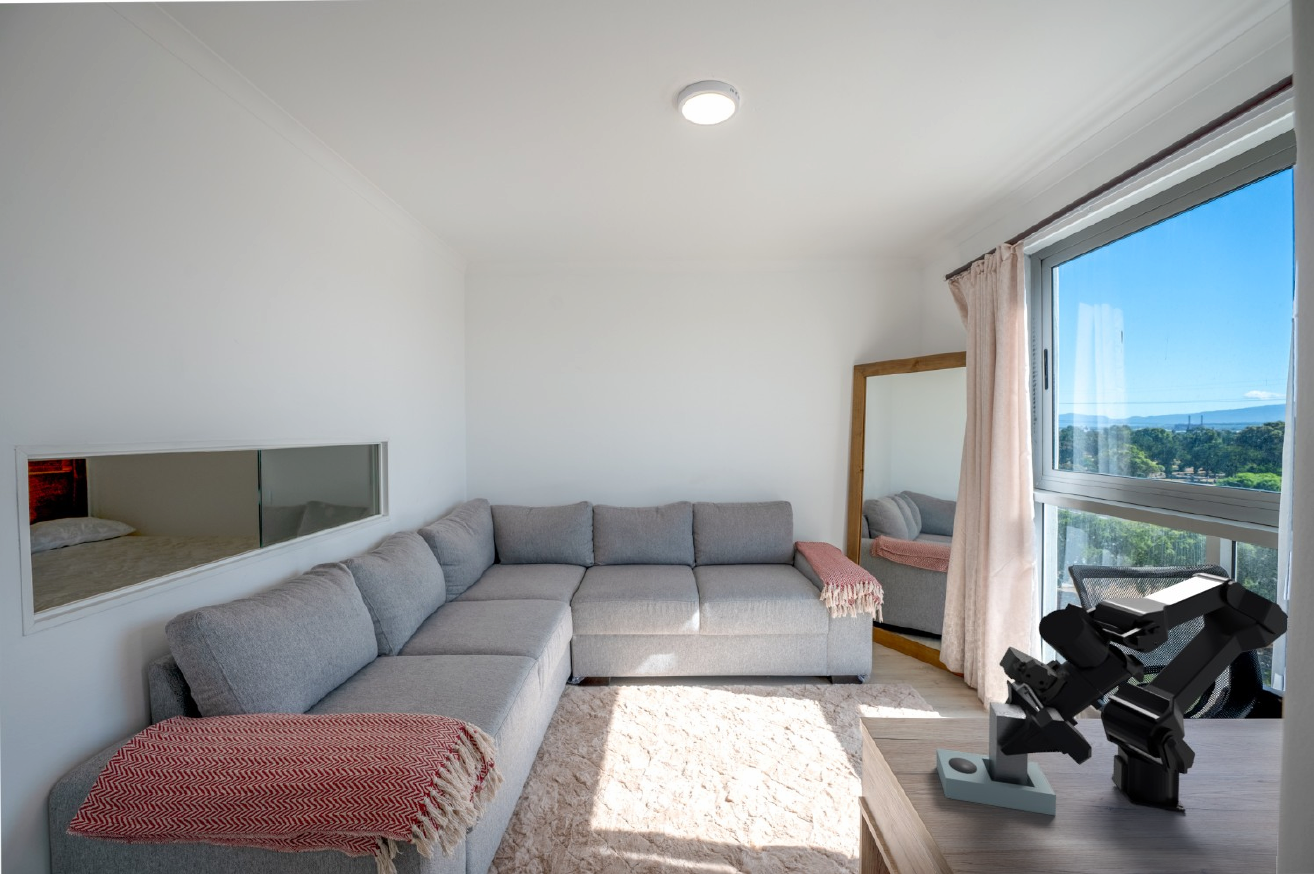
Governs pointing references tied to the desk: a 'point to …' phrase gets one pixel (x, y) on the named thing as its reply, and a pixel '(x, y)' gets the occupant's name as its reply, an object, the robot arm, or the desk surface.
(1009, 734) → the square bit
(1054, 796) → the socket block
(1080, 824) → the desk surface
